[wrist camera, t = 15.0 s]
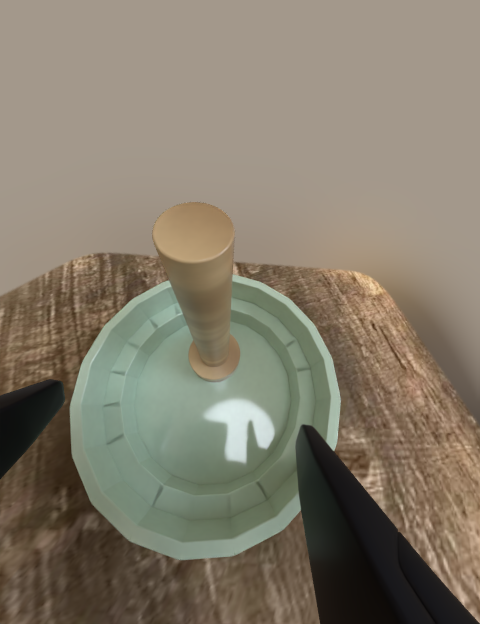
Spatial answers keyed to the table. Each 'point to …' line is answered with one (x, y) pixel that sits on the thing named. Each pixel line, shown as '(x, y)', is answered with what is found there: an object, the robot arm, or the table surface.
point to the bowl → (200, 423)
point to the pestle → (201, 282)
